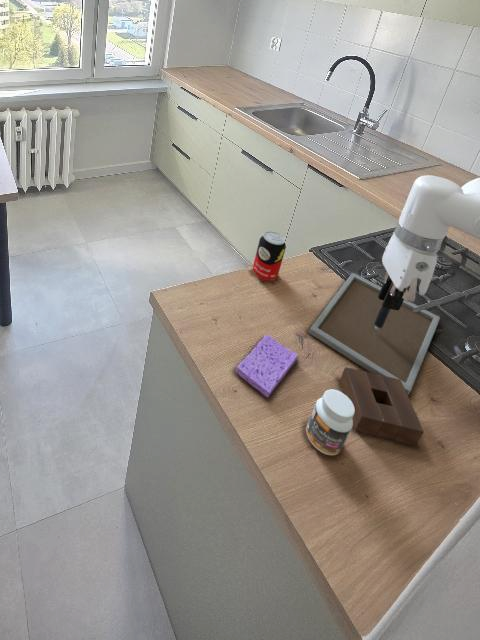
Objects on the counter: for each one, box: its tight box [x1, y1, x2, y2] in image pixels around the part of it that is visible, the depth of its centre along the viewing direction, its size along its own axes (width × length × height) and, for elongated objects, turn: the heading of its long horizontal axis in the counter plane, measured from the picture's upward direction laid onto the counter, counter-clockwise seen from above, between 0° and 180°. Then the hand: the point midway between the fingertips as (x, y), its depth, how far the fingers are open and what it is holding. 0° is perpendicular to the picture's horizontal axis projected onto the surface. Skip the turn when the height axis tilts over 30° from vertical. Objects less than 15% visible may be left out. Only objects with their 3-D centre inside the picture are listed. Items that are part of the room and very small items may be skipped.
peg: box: [374, 282, 394, 330], centre depth 91 cm, size 2×2×13 cm
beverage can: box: [252, 231, 287, 281], centre depth 108 cm, size 6×6×12 cm
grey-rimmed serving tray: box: [308, 272, 441, 396], centre depth 97 cm, size 19×2×30 cm
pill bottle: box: [305, 389, 355, 456], centre depth 71 cm, size 6×6×10 cm
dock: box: [339, 366, 425, 446], centre depth 78 cm, size 10×10×4 cm
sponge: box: [235, 333, 299, 398], centre depth 85 cm, size 7×13×2 cm, turn 132°
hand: (388, 303), depth 90 cm, fingers closed on peg, 1 cm apart
